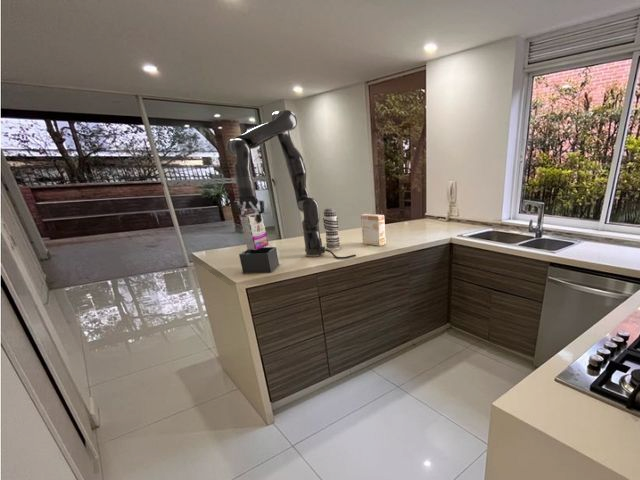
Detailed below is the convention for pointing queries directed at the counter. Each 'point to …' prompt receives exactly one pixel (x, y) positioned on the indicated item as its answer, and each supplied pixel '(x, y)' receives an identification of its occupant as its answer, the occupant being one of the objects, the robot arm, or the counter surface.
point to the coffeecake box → (373, 229)
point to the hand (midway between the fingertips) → (252, 222)
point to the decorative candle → (331, 229)
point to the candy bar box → (254, 232)
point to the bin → (259, 260)
